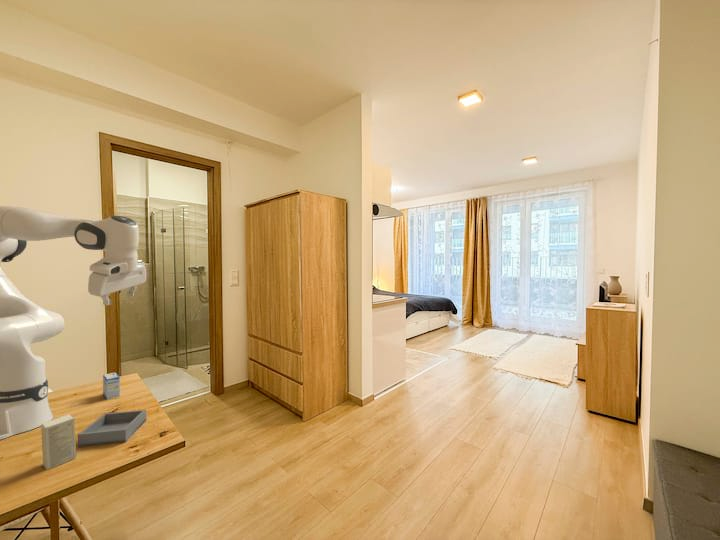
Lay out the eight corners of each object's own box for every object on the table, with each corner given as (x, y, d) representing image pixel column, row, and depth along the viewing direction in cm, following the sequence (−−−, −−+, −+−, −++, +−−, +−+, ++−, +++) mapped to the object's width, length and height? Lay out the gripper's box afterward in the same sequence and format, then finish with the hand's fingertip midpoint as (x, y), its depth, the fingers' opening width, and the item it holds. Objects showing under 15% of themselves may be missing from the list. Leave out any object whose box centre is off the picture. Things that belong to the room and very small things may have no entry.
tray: (77, 447, 91) (77, 434, 91) (104, 424, 103) (104, 413, 103) (125, 442, 93) (125, 429, 93) (146, 420, 106) (146, 409, 106)
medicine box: (102, 394, 127) (102, 374, 126) (116, 391, 130) (115, 371, 130) (106, 400, 122) (106, 379, 121) (120, 396, 125) (120, 376, 125)
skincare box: (71, 452, 88) (71, 413, 88) (76, 458, 86) (75, 417, 85) (41, 465, 83) (40, 422, 82) (45, 471, 80) (44, 427, 80)
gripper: (136, 257, 112) (134, 290, 115) (84, 266, 92) (83, 307, 95) (152, 260, 112) (149, 294, 115) (103, 271, 92) (101, 311, 95)
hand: (119, 300), depth 105 cm, fingers open, 8 cm apart
